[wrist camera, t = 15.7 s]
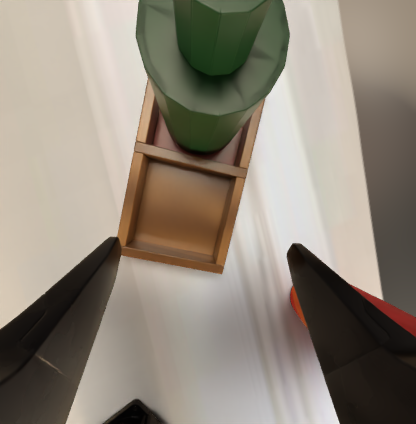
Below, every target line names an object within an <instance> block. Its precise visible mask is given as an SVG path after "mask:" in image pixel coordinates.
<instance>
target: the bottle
mask: <svg viewBox="0 0 416 424" xmlns="http://www.w3.org/2000/svg"><path fill="white" fill-rule="evenodd" d="M289 37H290V33H289V28H288V22H287V17H286V12H285V7H284V4H283V1H282V0H139V4H138V14H137V25H136V39H137V43H138V46H139V50H140V53H141V57H142V61H143V64H144V68H145V70H146V73H147V76H148V78H149V81H150V84H151V86H152V89H153V92H154V94H155V97H156V100H157V102H158V105H159V108H160V110H161V113H162V116H163V118H164V121H165V124H166V126H167V129H168V132H169V134H170V135H171V137H172V138H173V140H174V141H175V143H176V144H177V145H178V146H179V147H181V148H182V149H183V150H185V151H187V152H189V153H191V154H195V155H210V154H213V153H216V152H218V151H220V150H221V149H223V148H224V147H225V146H226V145H227V144H229V143H230V141H231V140H232V139H233V138H234V136H235V135H236V134H237V133H238V131H239V130H240V129H241V128H242V126H243V125H244V124H245V123H246V121H247V120H248V119H249V118H250V116H251V115H252V114H253V113H254V111H255V110H256V109H257V108H258V106H259V105H260V104H261V103H262V101H263V100H264V99H265V98H266V96H267V95H268V94H269V93H270V91H271V90H272V88H273V86H274V85H275V83H276V81H277V79H278V78H279V76H280V74H281V72H282V71H283V69H284V66H285V62H286V56H287V50H288V44H289Z"/></svg>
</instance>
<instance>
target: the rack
mask: <svg viewBox="0 0 416 424" xmlns="http://www.w3.org/2000/svg"><path fill="white" fill-rule="evenodd" d="M264 101H265V99H264V100H263V101H262V103H261V104H260V105H259V106H258V108H257V109H256V110H255V111H254V113H253V114H252V115H251V116H250V118H249V119H248V120H247V121H246V123H245V124H244V125H243V126H242V128H241V129H240V130H239V131H238V133H237V134H236V135H235V136H234V138H233V139H232V140H231V141H230V143H229V144H227V145H226V146H225V147H224V148H223V149H221V150H220V151H218V152H216V153H213V154H210V155H195V154H191V153H189V152H187V151H185V150H183V149H182V148H181V147H179V146H178V145H177V144H176V143H175V141H174V140H173V138H172V137H171V135H170V134H169V132H168V129H167V126H166V124H165V121H164V118H163V116H162V113H161V110H160V108H159V105H158V102H157V100H156V97H155V94H154V92H153V89H152V86H151V84H150V81H149V78H148V81H147V86H146V91H145V96H144V102H143V107H142V112H141V117H140V122H139V127H138V132H137V138H136V142H135V148H134V151H135V152H134V153H133V158H132V163H131V169H130V174H129V179H128V184H127V189H126V194H125V199H124V204H123V210H122V215H121V220H120V225H119V230H118V235H117V237H118V238H119V240H120V244H121V247H122V252H121V255H123V256H128V257H134V258H139V259H144V260H149V261H155V262H160V263H165V264H170V265H176V266H181V267H186V268H192V269H197V270H202V271H207V272H213V273H218V274H222V273H223V269H224V264H225V260H226V256H227V252H228V248H229V244H230V240H231V236H232V232H233V228H234V224H235V220H236V215H237V211H238V207H239V203H240V199H241V195H242V191H243V187H244V183H245V178H246V175H247V171H248V170H247V169H248V167H249V163H250V158H251V154H252V150H253V146H254V142H255V138H256V134H257V130H258V126H259V122H260V118H261V114H262V110H263V105H264Z"/></svg>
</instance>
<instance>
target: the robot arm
mask: <svg viewBox="0 0 416 424" xmlns="http://www.w3.org/2000/svg"><path fill="white" fill-rule="evenodd" d="M121 252H122V247H121V244H120V240H119V238H118V237H109V238H108V239H106V240H105V241H104V242H103V243H102V244H101V245H100V246H98V247H97V248H96V249H95V250H94V251H93V252H92V253H90V254H89V255H88V256H87V257H86V258H85V259H83V260H82V261H81V262H80V263H79V264H78V265H77V266H75V267H74V268H73V269H72V270H71V271H70V272H69V273H67V274H66V275H65V276H64V277H63V278H62V279H61V280H59V281H58V282H57V283H56V284H55V285H54V286H52V287H51V288H50V289H49V290H48V291H47V292H46V293H45V294H43V295H42V296H41V297H40V298H39V299H37V300H36V301H35V302H34V303H33V304H32V305H30V306H29V307H28V308H27V309H26V310H24V311H23V312H22V313H21V314H20V315H18V316H17V317H16V318H14V319H13V320H12V321H11V322H9V323H8V324H7V325H5V326H4V327H3V328H1V329H0V424H66V421H67V418H68V415H69V412H70V409H71V406H72V404H73V401H74V398H75V395H76V392H77V389H78V386H79V383H80V380H81V378H82V375H83V372H84V369H85V366H86V363H87V360H88V358H89V355H90V352H91V349H92V346H93V343H94V340H95V337H96V335H97V332H98V329H99V326H100V323H101V320H102V317H103V315H104V312H105V309H106V306H107V303H108V300H109V297H110V295H111V292H112V289H113V286H114V283H115V279H116V275H117V271H118V266H119V261H120V257H121ZM287 260H288V265H289V269H290V274H291V278H292V282H293V286H294V289H295V292H296V295H297V298H298V301H299V304H300V307H301V310H302V313H303V316H304V319H305V321H306V324H307V327H308V330H309V333H310V336H311V339H312V342H313V345H314V348H315V351H316V354H317V357H318V360H319V363H320V366H321V369H322V372H323V375H324V378H325V381H326V384H327V387H328V390H329V393H330V396H331V399H332V402H333V405H334V408H335V411H336V414H337V417H338V420H339V423H340V424H416V337H415V336H414V335H412V334H411V333H410V332H408V331H407V330H406V329H404V328H403V327H402V326H400V325H399V324H398V323H396V322H395V321H394V320H392V319H391V318H390V317H389V316H387V315H386V314H385V313H383V312H382V311H381V310H380V309H378V308H377V307H376V306H375V305H373V304H372V303H371V302H370V301H369V300H367V299H366V298H365V297H364V296H362V295H361V294H360V293H359V292H358V291H357V290H355V289H354V288H353V287H352V286H351V285H349V284H348V283H347V282H346V281H345V280H344V279H342V278H341V277H340V276H339V275H338V274H336V273H335V272H334V271H333V270H332V269H330V268H329V267H328V266H327V265H326V264H324V263H323V262H322V261H321V260H320V259H319V258H317V257H316V256H315V255H314V254H313V253H311V252H310V251H309V250H308V249H307V248H305V247H304V246H303V245H302V244H299V243H293V244H292V245H291V247H290V249H289V250H288V252H287ZM104 424H161V423H160V421H159V420H158V419H157V418H156V417H155V416H154V415H153V414H152V413H151V412H150V411H149V410H148V409H147V408H146V407H145V406H144V405H143V404H142V403H141V402H140V401H139V400H134V401H132V402H131V403H130V404H128V405H127V406H126V407H125V408H123V409H122V410H121V411H119V412H118V413H117V414H115V415H114V416H113V417H111V418H110V419H109V420H108V421H106V422H105V423H104Z"/></svg>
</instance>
